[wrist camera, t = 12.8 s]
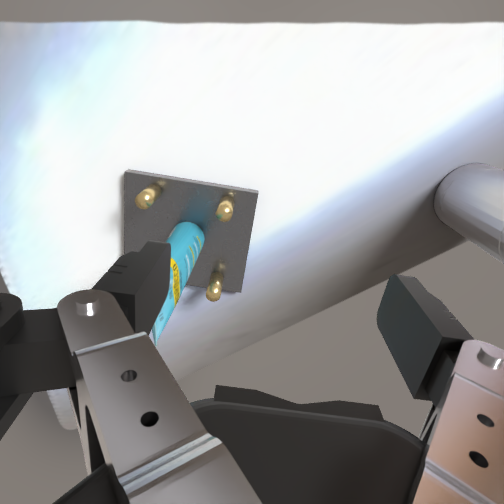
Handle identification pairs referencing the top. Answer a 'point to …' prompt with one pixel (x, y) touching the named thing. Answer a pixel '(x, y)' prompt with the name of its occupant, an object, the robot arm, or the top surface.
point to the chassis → (200, 213)
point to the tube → (179, 268)
